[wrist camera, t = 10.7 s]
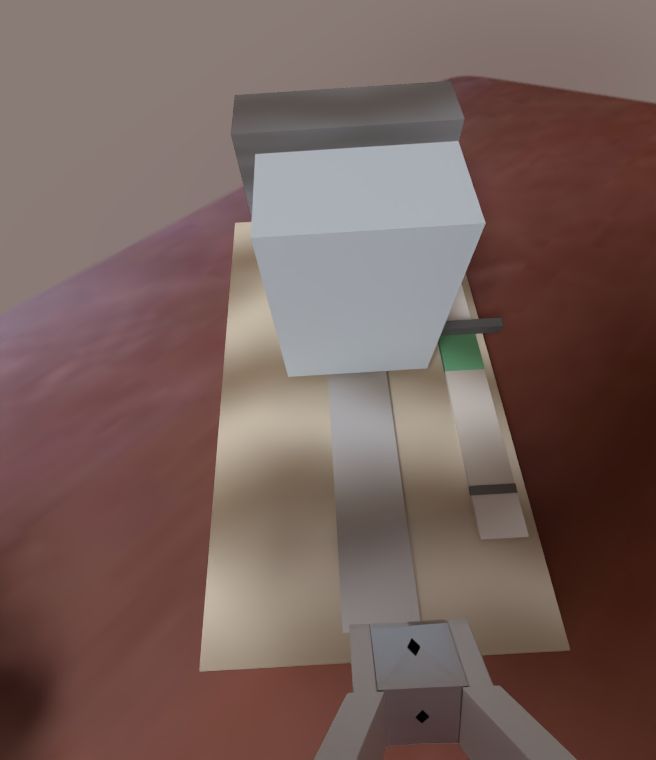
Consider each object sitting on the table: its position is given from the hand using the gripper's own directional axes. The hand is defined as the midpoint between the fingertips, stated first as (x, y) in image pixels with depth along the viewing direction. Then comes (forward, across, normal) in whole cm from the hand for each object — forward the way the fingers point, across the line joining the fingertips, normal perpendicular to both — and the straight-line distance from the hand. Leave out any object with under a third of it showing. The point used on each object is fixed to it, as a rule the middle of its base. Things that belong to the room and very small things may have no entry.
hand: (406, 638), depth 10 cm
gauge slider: (+13, -2, -6) cm, 15 cm away
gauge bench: (+13, 0, -2) cm, 13 cm away
